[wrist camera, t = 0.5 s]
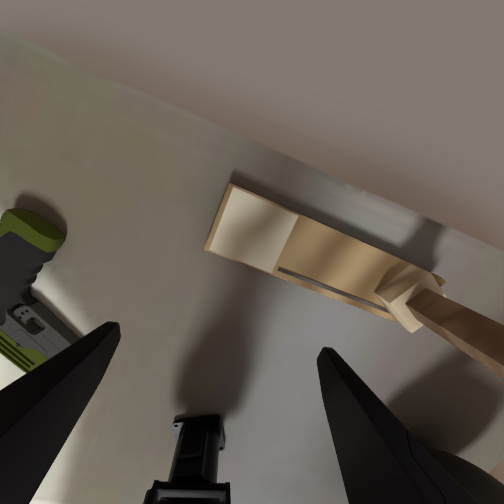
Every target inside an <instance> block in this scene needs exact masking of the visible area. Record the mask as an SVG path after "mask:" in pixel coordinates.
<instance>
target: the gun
mask: <svg viewBox="0 0 504 504" xmlns="http://www.w3.org/2000/svg"><path fill="white" fill-rule="evenodd" d="M0 221H1V223H0V353H1V354H2V355H3V356H4V357H6V358H7V359H8V360H10V361H11V362H12V363H13V364H15V365H16V366H17V367H19V368H20V369H21V370H22V371H24V372H26V373H28V372H30V371H31V370H33V369H34V368H36V367H37V366H39V365H40V364H42V363H44V362H45V361H47V360H48V359H50V358H51V357H53V356H54V355H56V354H57V353H59V352H61V351H62V350H64V349H65V348H67V347H68V346H70V345H71V344H73V343H75V342H76V341H78V340H79V339H80V338H79V337H78V336H77V335H76V334H74V333H73V332H72V331H71V330H70V329H69V328H68V327H67V326H66V325H65V324H64V323H62V322H61V321H60V320H59V319H58V318H57V317H56V316H55V315H54V314H53V313H52V312H51V311H49V310H48V309H47V308H46V307H45V306H44V305H43V304H42V303H41V302H40V301H39V300H37V299H35V298H34V297H33V296H31V294H30V292H29V288H30V286H31V284H32V283H34V282H35V276H36V274H37V273H39V272H40V271H41V266H42V264H43V263H45V262H48V261H50V260H52V258H53V256H54V254H55V253H56V251H57V250H58V249H59V248H60V247H61V246H62V244H63V242H64V239H65V235H64V234H63V233H62V232H61V231H60V230H59V229H57V228H56V227H55V226H54V225H53V224H51V223H50V222H49V221H47V220H45V219H44V218H42V217H40V216H38V215H37V214H35V213H33V212H30V211H27V210H23V209H8V210H6V211H5V212H4V213H3V215H2V217H1V220H0ZM19 303H21V304H25V305H23V306H21V307H19V306H18V304H19ZM33 317H36V318H37V319H38V320H39V321H40V322H41V323H42V324H43V325H44V326H45V328H41V327H39V326H38V325H37V324H36V323H35V322H34V321H33V320H32V319H31V318H33Z"/></svg>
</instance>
